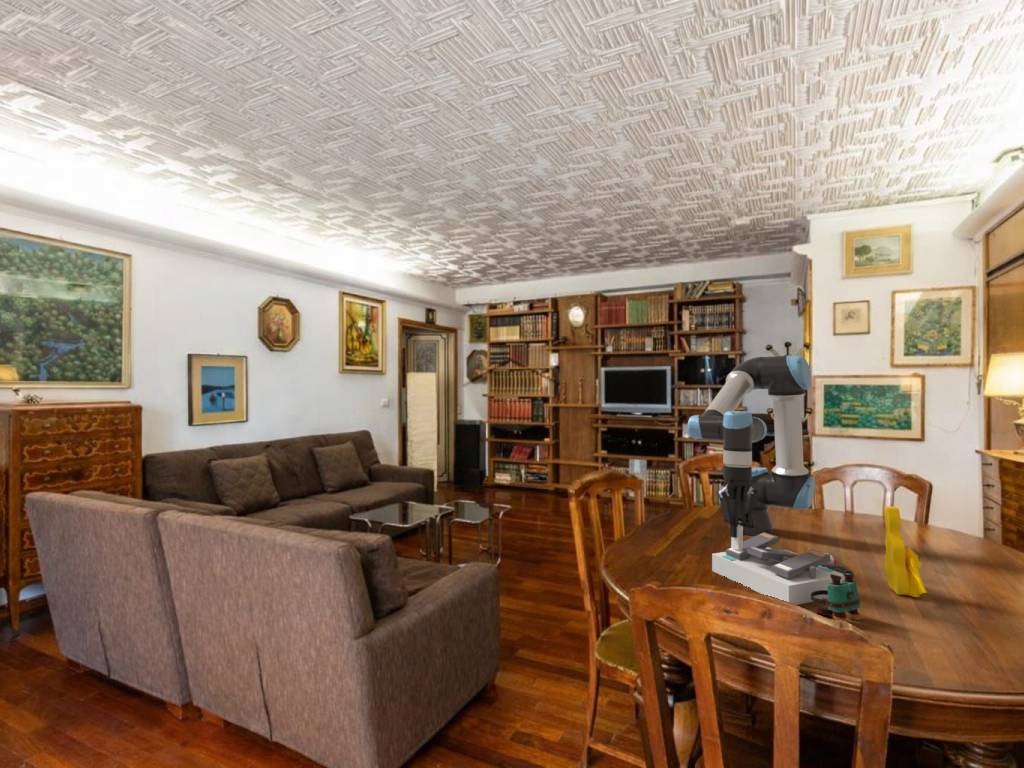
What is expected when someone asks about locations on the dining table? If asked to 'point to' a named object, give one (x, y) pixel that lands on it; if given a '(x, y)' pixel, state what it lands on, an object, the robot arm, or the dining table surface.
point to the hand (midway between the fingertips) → (737, 548)
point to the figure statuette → (900, 559)
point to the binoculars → (840, 598)
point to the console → (774, 577)
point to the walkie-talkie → (834, 564)
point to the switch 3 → (800, 563)
